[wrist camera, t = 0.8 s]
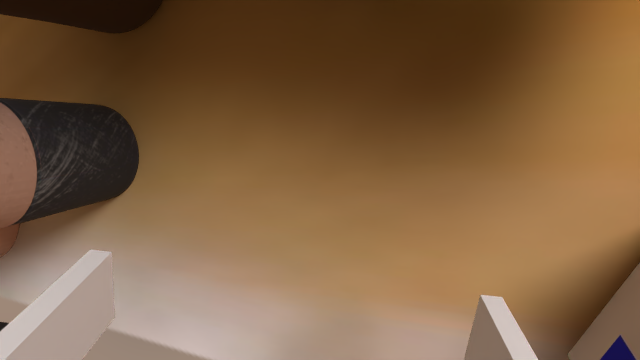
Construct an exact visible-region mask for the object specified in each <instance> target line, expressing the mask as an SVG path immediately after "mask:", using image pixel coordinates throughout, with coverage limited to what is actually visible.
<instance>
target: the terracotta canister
mask: <svg viewBox="0 0 640 360" xmlns="http://www.w3.org/2000/svg"><path fill="white" fill-rule="evenodd" d="M18 230H19V224H15V225H11V226H7V227H4V228H0V257H2V256H3V255H5V254H6V253H7V252H8V251H9V250H10V249H11V247H12V246H13V244H14V242H15V240H16V237H17V234H18Z"/></svg>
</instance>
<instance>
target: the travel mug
mask: <svg viewBox="0 0 640 360" xmlns="http://www.w3.org/2000/svg"><path fill="white" fill-rule="evenodd" d="M138 161H139V153H138V145H137V141H136V138H135V135H134V133H133V131H132V129H131V127H130V125H129V124H128V122H127V121H126V120H125V119H124V118H123V117H122V116H121V115H120V114H119V113H117V112H116V111H115V110H113V109H111V108H108V107H105V106H101V105H94V104H82V103H67V102H52V101H37V100H23V99H8V98H0V228H4V227H7V226H11V225H15V224H19V223H22V222H26V221H30V220H34V219H37V218H41V217H45V216H48V215H52V214H56V213H59V212H63V211H67V210H70V209H74V208H78V207H81V206H85V205H89V204H93V203H96V202H100V201H103V200H107V199H110V198H113V197H116V196H118V195H119V194H121V193H122V192H124V191H125V190H126V189H127V188H128V187H129V186H130V184H131V183H132V181H133V179H134V177H135V175H136V172H137V168H138Z"/></svg>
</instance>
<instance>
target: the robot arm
mask: <svg viewBox="0 0 640 360" xmlns="http://www.w3.org/2000/svg"><path fill="white" fill-rule="evenodd" d="M114 318H115V309H114V288H113V266H112V252H108V251H100V250H91V249H90V250H89V251H88V252H87V253H86V254H85V255H84V256H83V257H82V258H81V259H79V260H78V261H77V262H76V263H75V264H74V265H73V266H72V267H71V268H70V269H68V270H67V271H66V272H65V273H64V274H63V275H62V276H61V277H60V278H59V279H57V280H56V281H55V282H54V283H53V284H52V285H51V286H50V287H49V288H48V289H46V290H45V291H44V292H43V293H42V294H41V295H40V296H39V297H38V298H37V299H35V300H34V301H33V302H32V303H31V304H30V305H29V306H28V307H27V308H26V309H24V310H23V311H22V312H21V313H20V314H19V315H18V316H17V317H16V318H15V319H13V320H12V321H11V322H10V323H4V322H0V360H83V358H84V357H85V356H86V354H87V353H88V352H89V351H90V349H91V348H92V347H93V345H94V344H95V343H96V341H97V340H98V339H99V338H100V336H101V335H102V333H103V332H104V331H105V330H106V328H107V327H108V326H109V324H110V323H111V322H112V321H113V319H114ZM464 359H465V360H538V358H537V357H536V355H535V353H534V352H533V350H532V348H531V346H530V345H529V343H528V341H527V339H526V338H525V336H524V334H523V332H522V331H521V329H520V327H519V326H518V324H517V322H516V320H515V319H514V317H513V315H512V313H511V312H510V310H509V308H508V307H507V305H506V303H505V301H504V300H503V298H502V297H496V296H487V295H480V298H479V302H478V306H477V310H476V314H475V318H474V322H473V326H472V330H471V334H470V338H469V342H468V346H467V350H466V354H465V358H464Z"/></svg>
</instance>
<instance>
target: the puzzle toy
mask: <svg viewBox="0 0 640 360" xmlns="http://www.w3.org/2000/svg"><path fill="white" fill-rule="evenodd" d="M568 357H569V360H640V262H639V264H638V265H637V266H636V268H635V269H634V270H633V271H632V273H631V274H630V275H629V277H628V278H627V279H626V280H625V282H624V283H623V284H622V285H621V287H620V288H619V289H618V291H617V292H616V293H615V294H614V296H613V297H612V298H611V299H610V301H609V302H608V303H607V305H606V306H605V307H604V308H603V310H602V311H601V312H600V313H599V315H598V316H597V317H596V319H595V320H594V321H593V322H592V324H591V325H590V326H589V328H588V329H587V330H586V331H585V333H584V334H583V335H582V336H581V338H580V339H579V340H578V342H577V343H576V344H575V345H574V347H573V348H572V349H571V350H570V352H569V353H568Z"/></svg>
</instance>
